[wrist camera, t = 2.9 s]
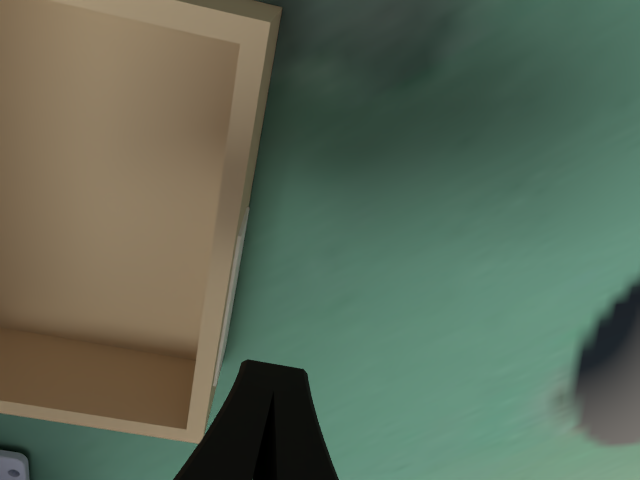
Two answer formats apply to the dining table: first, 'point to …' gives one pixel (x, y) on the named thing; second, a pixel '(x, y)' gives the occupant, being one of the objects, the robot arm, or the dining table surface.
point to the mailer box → (125, 203)
